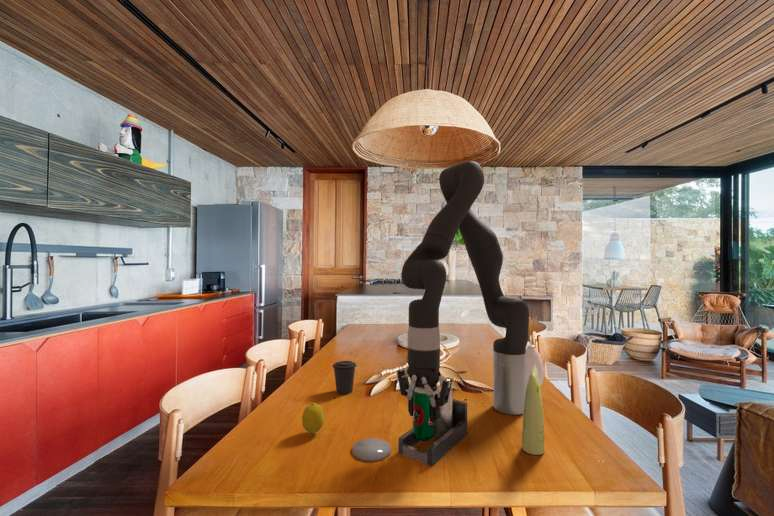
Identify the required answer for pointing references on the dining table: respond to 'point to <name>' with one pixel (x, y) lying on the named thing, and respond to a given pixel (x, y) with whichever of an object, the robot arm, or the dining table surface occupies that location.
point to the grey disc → (371, 449)
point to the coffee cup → (344, 376)
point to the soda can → (422, 415)
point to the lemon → (313, 418)
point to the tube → (533, 417)
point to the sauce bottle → (533, 363)
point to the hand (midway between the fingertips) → (423, 417)
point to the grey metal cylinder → (444, 417)
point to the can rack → (441, 444)
